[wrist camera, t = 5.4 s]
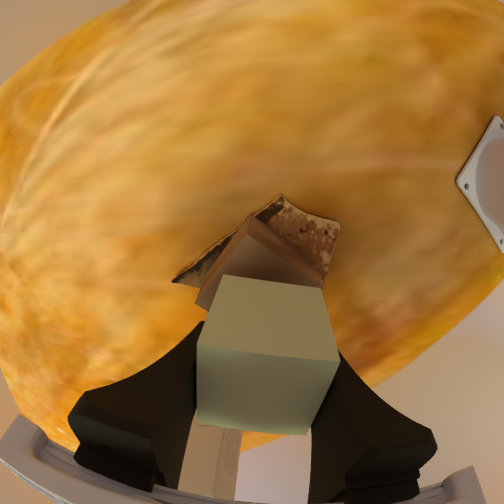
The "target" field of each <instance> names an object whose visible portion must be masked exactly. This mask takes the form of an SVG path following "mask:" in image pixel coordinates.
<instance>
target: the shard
mask: <svg viewBox="0 0 504 504" xmlns="http://www.w3.org/2000/svg"><path fill="white" fill-rule="evenodd" d="M253 216H254V217H256V218H257V219H259V220H260V221H261V222H263V223H264V224H266V225H267V226H268V227H270V228H271V229H273V230H274V231H275V232H277V233H278V234H280V235H281V236H282V237H284V238H285V239H287V240H288V241H289V242H291V243H292V244H294V245H295V246H296V247H298V248H299V249H300V250H302V251H303V252H305V253H306V254H307V255H309V256H310V257H311V258H312V259H313V262H314V264H315V267H316V270H317V272H318V275H319V278H320V280H321V283H322V286H324V282H325V279H326V275H327V270H328V266H329V264H330V260H331V256H332V252H333V248H334V245H335V244H336V242H337V239H338V236H339V233H340V227H339V223H338V222H335V221H332V220H328V219H323V218H320V217H317V216H314V215H310V214H307V213H304V212H303V211H301V210H299V209H297V208H295V207H294V206H293V205H291V204H290V203H289V202H288V201H287V200H286V199H285V198H284V197H283V196H282V195H281V194H279V195H278V196H277V197H276V198H275V199H274V200H273V201H272V202H270V203H269V204H267V206H266V207H265V208H263V209H262V210H261V211H259V212H257V213H256V214H255V215H253ZM240 227H241V226H240ZM240 227H239V228H240ZM239 228H238V229H236V230H234V231H233V232H232V233H230V234H229V235H228V236H226V237H225V238H223V239H221V240H220V241H219V243H217V244H215V245H214V246H213V247H211V248H210V249H209V250H208V251H207V252H205V253H204V254H202V255H201V256H200V257H199V258H197V259H196V261H195V262H194V263H193V264H192V265H191V266H190V267H189V268H187V269H186V270H185V271H184V272H181V273H179V274H178V275H177V276H176V277H175V278H174V279H173V280H172V281H171V282H172V283H178V284H184V285H187V286H192V287H199V288H201V287H202V284H203V282H204V279H205V277H206V274H207V272H208V271H209V269H210V268H211V266H212V265H213V264H214V262H215V261H216V260H217V258H218V257H219V255H220V254H221V253H222V251H223V250H224V249H225V247H226V246H227V244H228V243H229V242H230V240H231V239H232V238H233V236H234V235H235V234H236V232H237V231H238V230H239ZM322 289H323V288H322ZM322 289H321V290H322Z"/></svg>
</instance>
